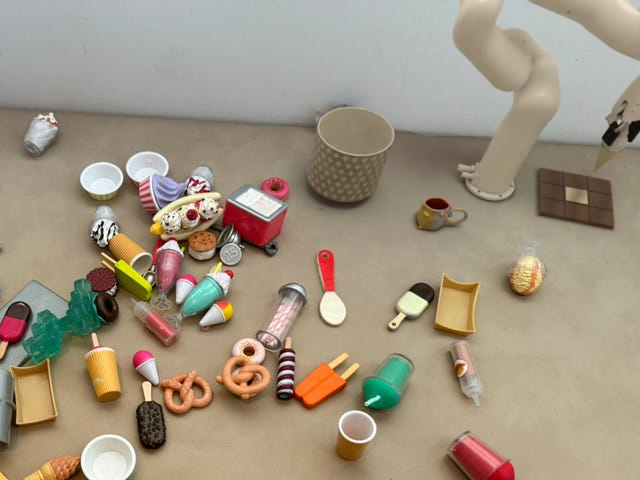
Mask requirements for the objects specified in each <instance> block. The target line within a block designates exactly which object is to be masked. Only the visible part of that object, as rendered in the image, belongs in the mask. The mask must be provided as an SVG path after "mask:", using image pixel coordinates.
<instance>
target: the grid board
mask: <svg viewBox="0 0 640 480" xmlns="http://www.w3.org/2000/svg"><path fill="white" fill-rule="evenodd" d="M612 195H613V193H612V184H611V179H605V178H599V177H594V176H590V175H584V174H578V173H571V172H568V171H567V172H566V171H564V170H563V171H561V170H556V169H550V168H545V167H539V169H538V216H542V217H547V218H552V219H557V220H563V221H567V222H572V223H577V224H583V225H588V226H594V227H598V228H602V229H608V230H613V229H614V228H615V215H614V205H613V197H612Z"/></svg>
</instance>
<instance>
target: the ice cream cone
mask: <svg viewBox="0 0 640 480" xmlns="http://www.w3.org/2000/svg"><path fill="white" fill-rule="evenodd" d="M629 124H630V122H627V124H626V125H625V126H624V127H623V128H622V129H621V130H620V134H619V135H618V137H617V138H616V140H615V141H614V142H613V144H612V145H611V146H607V145H606V143H605V142H604V141H603V140H602V141H601V142H600V143H601V144H600V148H599V151H598V154H597V157H596V160H595V163H594V167H593V169H592V172H593V173H596V172H597V171H598V170H600V169H601V168H602V167H603V166H605V165H606V164H607V163H608V162H609V161H611V160H612V159H613V158H615V157H616V156H617V155H619V154H620V153H622V152H623V151H624V149H625V147H626V146H627V144H628V137H627V134H628V127H629Z"/></svg>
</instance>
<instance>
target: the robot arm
mask: <svg viewBox="0 0 640 480" xmlns="http://www.w3.org/2000/svg"><path fill="white" fill-rule="evenodd" d="M504 1H505V0H460V1H459V9H458V13H457V16H456V19H455V21H454V24H453V28H452V35H451V36H452V42H453V44H454V46H455V47H456V49H457V50H458V51H459V52H460V53H461V54H462V55H463V57H465V58H466V59H467V60H468V61H469V62H470V63H471V64H472V65H473V67H474V68H475V69H476V70H477V71H478V72H479V73H480V74H481V75H482V76H483V77H484V78H485V79H486V81H488V82H489V83H490V84H491V86H492V87H494V88H495V89H496V90H498V91H501V92H507V93H508V92H511V93H512V97H513V98H512V105H511V108H510V109H509V111H508V112H507V113H506V114H505V116H504V117H503V119H502V120H501V121H500V123H499V125H498V127H497V128H496V131H495V133H494V134H493V137H492V139H491V140H490V143H489V144H488V146H487V148H486V150H485V152H484V154H483V156H482V158H481V160H480V162H479V161H476V163H475V164H474V165H473V164H471V165H467V164H462V163H458V165H457V168H456V171H457V172H460V173H461V175H460V177H461V178H464V179H465V180H464V181H465V186H466V188H467V190H469V192H470V193H472V194H473V195H474V196H476V197H478V198H480V199H483V200H486V201H493V202H494V201H495V202H496V201H497V202H498V201H504V200H506V199H508V198H510V197H511V195H512V194H513V193H514V190H515V182H514V179H515V177H516V176H517V174H518V172H519V170H520V169H521V167H522V165H523V164H524V162H525V160H526V159H527V157H528V155H529V154H530V152H531V151H532V148H533V147H534V145H535V143H536V141H538V138H539V137H540V135H541V133H542V132H543V131H544V129H545V128H546V127H547V125H548V124H549V123H550V122H551V120H552V119H553V118H554V117H555V116H556V114H557V112H558V110H559V108H560V104H561V99H562V98H561V96H562V94H561V93H562V92H561V83H560V79H559V71H558V67H557V64H556V63H555V61H554V60H553V58H552V57H551V56H550V55H549V54H548V53H547V52H546V50H545V49H544V48H543V47H542V46H541V45H540V44H539V43H538V41H536V39H534V37H532V35H531V34H530V33H528V32H527V31H526V30H524V29H521V28H516V27H509V28H505V29H503V28H501V27H500V26H499V25H497V24H496V22H497V19H498V17H499V15H500V13H501V11H502V9H503V5H504ZM526 1H527V2H529V3H531V4H533V5H535V6H538V7H540V8H543V9H545V10H547V11H550V12H552V13H555V14H557V15H560V16H562V17H564V18H566V19H568V20H570V21H573V22H575V23H577V24H579V25H581V26H582V27H583V28H584V29H585V30H586V31H587V32H589V34H591V35H593V36H594V37H595V38H597V39H598V40H599V41H601V42H602V43H603V44H604V45H605V46H607V47H609V49H612V50H613V51H615V52H617V53H619V54H621V55H623V56H626V57H629V58H631V59H633V60H636V61H639V62H640V6H639V7H638V8H637V9H636V8H635V7H634V6H633V5H632V4H631V3H630V2H629V1H628V0H526ZM604 120H606V122H607V123H608V124H607V125H608V127H607V128H606V130H605V131H604V133H603V135H602V136H601V138H600V139H601V140H602V141H604V142H605V143H606V145H607V146H611V145H612V144H613V142H614V141H615V140H616V138H617V137H618V135H619V134H620V130H621V129H622V128H623V127H624V126H625V125H626V124H627V123H628V122H629V127H628V134H627V137H628V141H627V143H633V141H634V140H635V139H636V138H637V136H638V135H640V74H639V75H638V76H636V78H635V79H633V81H632V82H631V83H630V84H629V85H628V86H627V88H626V89H625V90H624V91H623V92H622V94H620V96H619V98H618V99H617V100H616V102H615V103H614V105H613V106H612V107H611V111H610V113H609V114H607V115H606V116H605V117H604ZM618 121H620V122H619V123H618Z"/></svg>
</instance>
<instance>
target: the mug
mask: <svg viewBox="0 0 640 480" xmlns="http://www.w3.org/2000/svg"><path fill="white" fill-rule="evenodd" d="M452 207H453V205H451V204H450V203H449V202H448V200H446V199H445V198H444V197H440V196H434V197H433V196H432V197H428V198H427V199H425V200H424V201H423V202H422V203H421V204H420V208H419V209H418V211H417V213H416V214H417V215H416V221H417V224H418V229H424V230H428V231H435V230H438V229H440V228H442V227H443V226H455V225H460V224H463V223H464V222H466V221H467V219H468V217H469V213H468V211H467V210H466V209H465V208H462V207H455V208H452ZM454 212H455V213H456V212H462V213H463V217H462V218H461V219H458V220H449V218H453V213H454Z"/></svg>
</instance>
